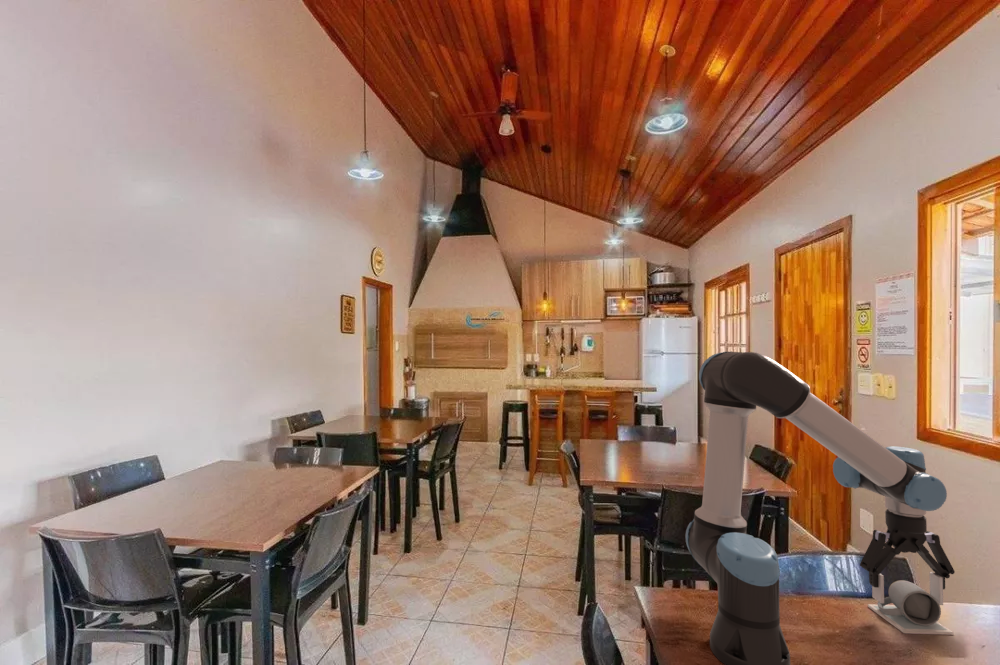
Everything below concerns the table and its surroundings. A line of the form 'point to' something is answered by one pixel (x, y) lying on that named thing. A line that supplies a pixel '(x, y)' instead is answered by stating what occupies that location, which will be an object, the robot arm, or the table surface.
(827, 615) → the table surface
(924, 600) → the ceramic mug
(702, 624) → the table surface
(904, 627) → the plate
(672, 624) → the table surface
